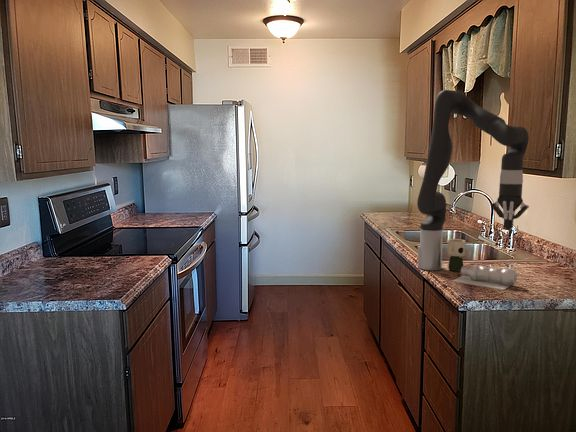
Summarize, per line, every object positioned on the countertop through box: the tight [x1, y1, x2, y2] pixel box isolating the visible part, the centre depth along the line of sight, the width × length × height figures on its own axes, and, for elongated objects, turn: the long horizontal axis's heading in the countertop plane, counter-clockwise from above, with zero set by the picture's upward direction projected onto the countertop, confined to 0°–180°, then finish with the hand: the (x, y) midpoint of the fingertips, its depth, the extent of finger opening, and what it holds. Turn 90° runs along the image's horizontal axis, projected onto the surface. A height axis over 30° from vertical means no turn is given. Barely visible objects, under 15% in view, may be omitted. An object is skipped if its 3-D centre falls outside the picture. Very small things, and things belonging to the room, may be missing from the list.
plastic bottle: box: [460, 263, 518, 287], centre depth 183 cm, size 6×7×20 cm
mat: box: [452, 275, 510, 291], centre depth 183 cm, size 19×10×1 cm, turn 49°
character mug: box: [447, 238, 467, 272], centre depth 202 cm, size 11×7×13 cm, turn 133°
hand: (508, 229), depth 175 cm, fingers closed
